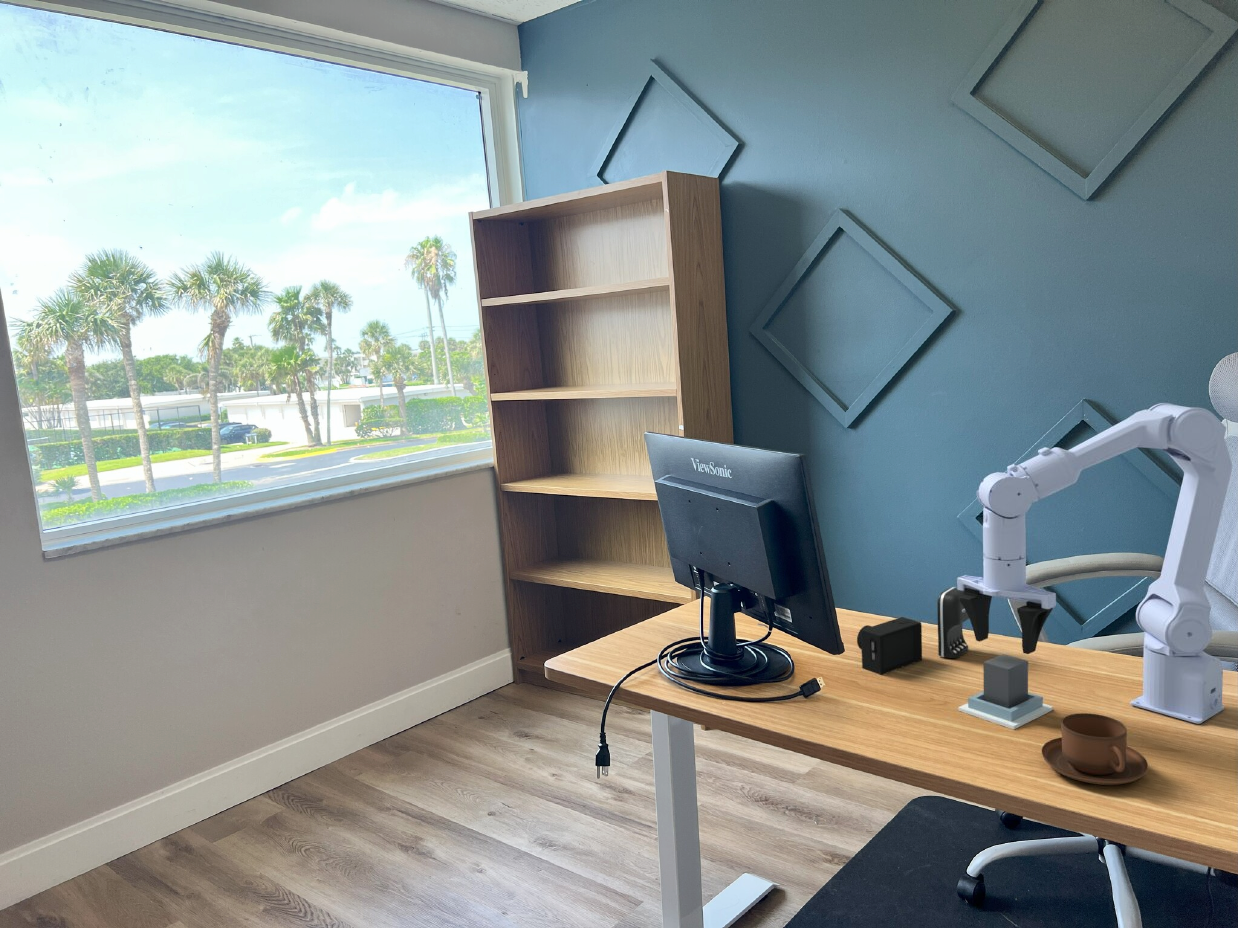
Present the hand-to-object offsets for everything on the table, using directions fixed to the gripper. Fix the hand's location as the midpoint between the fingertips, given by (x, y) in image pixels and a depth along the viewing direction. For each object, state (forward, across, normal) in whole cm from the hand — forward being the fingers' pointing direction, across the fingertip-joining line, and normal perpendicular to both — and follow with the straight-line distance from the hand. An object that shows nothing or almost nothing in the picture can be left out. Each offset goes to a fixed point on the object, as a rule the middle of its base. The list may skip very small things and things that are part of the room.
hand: (1005, 645), depth 134 cm
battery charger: (+10, -19, +15) cm, 26 cm away
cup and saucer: (+10, +18, -8) cm, 22 cm away
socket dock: (+10, 0, 0) cm, 10 cm away
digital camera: (+10, -24, +3) cm, 26 cm away
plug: (+10, 0, 0) cm, 10 cm away
